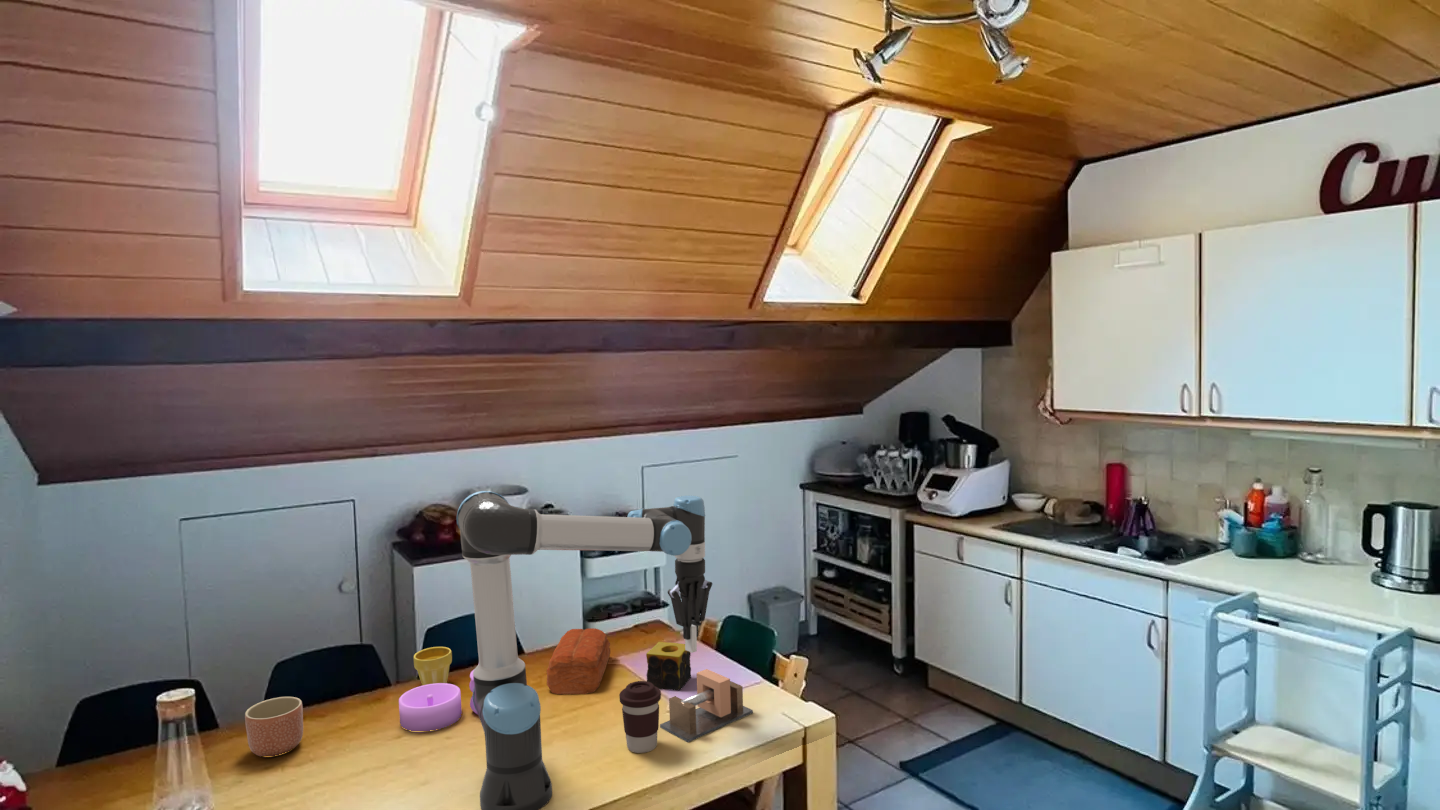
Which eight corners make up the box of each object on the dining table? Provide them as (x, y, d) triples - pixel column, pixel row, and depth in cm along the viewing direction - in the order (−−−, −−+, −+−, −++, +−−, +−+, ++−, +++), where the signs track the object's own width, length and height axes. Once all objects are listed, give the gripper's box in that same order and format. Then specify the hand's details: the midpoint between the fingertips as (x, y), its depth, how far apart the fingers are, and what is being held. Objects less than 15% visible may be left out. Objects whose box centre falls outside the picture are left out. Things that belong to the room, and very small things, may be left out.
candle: (646, 688, 234) (644, 653, 233) (659, 673, 243) (657, 640, 242) (680, 691, 231) (679, 657, 230) (691, 677, 240) (690, 643, 239)
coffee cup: (656, 758, 195) (654, 696, 194) (616, 755, 197) (613, 694, 196) (667, 737, 205) (665, 679, 203) (628, 735, 207) (626, 676, 205)
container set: (397, 736, 209) (394, 686, 208) (403, 710, 224) (400, 663, 223) (499, 721, 216) (497, 672, 215) (499, 697, 231) (496, 651, 229)
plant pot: (413, 682, 242) (411, 650, 241) (450, 675, 246) (449, 643, 245) (417, 696, 232) (415, 662, 231) (455, 689, 237) (453, 655, 236)
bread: (612, 656, 258) (611, 623, 257) (600, 694, 231) (598, 657, 230) (562, 658, 258) (560, 625, 257) (544, 695, 231) (542, 658, 230)
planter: (316, 744, 206) (312, 702, 205) (267, 768, 195) (263, 723, 194) (286, 733, 212) (283, 692, 211) (237, 755, 202) (233, 712, 201)
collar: (720, 717, 210) (719, 683, 209) (697, 706, 217) (696, 672, 216) (730, 712, 213) (729, 678, 212) (707, 701, 219) (706, 668, 218)
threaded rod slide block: (687, 742, 202) (686, 711, 201) (660, 727, 210) (659, 697, 209) (752, 712, 217) (752, 683, 216) (724, 699, 225) (723, 671, 224)
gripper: (679, 566, 200) (680, 661, 202) (719, 556, 208) (720, 648, 210) (660, 560, 205) (661, 653, 207) (700, 551, 214) (700, 640, 216)
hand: (690, 650), depth 209 cm, fingers closed
